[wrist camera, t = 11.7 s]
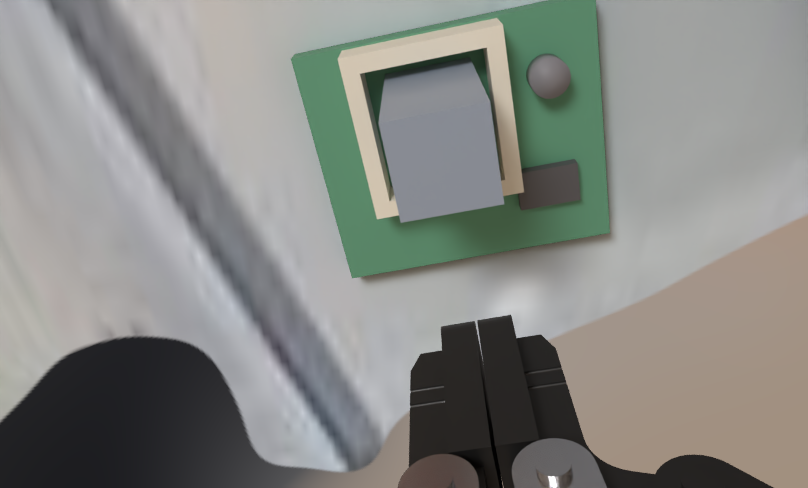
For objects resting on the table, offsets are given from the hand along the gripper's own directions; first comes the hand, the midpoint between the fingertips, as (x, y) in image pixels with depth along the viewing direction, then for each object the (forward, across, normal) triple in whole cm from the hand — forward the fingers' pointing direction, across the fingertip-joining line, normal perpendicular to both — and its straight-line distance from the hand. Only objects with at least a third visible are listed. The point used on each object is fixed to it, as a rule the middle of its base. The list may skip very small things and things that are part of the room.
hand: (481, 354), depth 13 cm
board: (+20, 0, +2) cm, 20 cm away
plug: (+19, +1, 0) cm, 19 cm away
